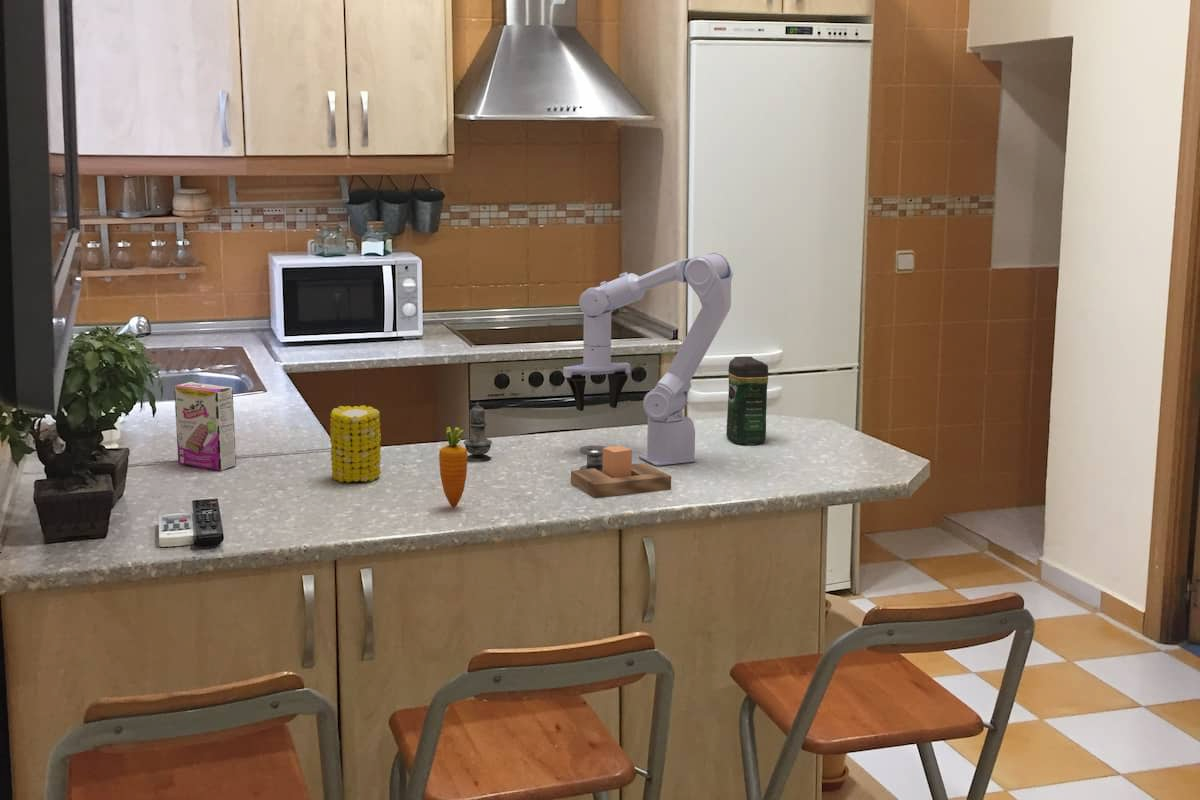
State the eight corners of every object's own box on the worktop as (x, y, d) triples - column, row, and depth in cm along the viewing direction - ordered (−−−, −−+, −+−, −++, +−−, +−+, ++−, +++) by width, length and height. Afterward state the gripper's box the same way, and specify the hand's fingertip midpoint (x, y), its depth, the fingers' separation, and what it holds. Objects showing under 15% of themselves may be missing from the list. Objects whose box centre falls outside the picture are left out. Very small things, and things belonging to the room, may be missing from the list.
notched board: (645, 475, 260) (645, 462, 259) (671, 488, 250) (671, 476, 249) (570, 483, 253) (570, 470, 252) (594, 497, 243) (594, 484, 243)
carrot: (440, 503, 238) (439, 423, 235) (467, 503, 239) (467, 423, 236) (439, 511, 233) (438, 429, 230) (467, 511, 234) (466, 429, 231)
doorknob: (601, 466, 266) (602, 444, 265) (614, 473, 261) (614, 450, 260) (574, 469, 263) (574, 446, 263) (587, 476, 258) (587, 453, 257)
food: (377, 478, 261) (377, 494, 251) (318, 467, 258) (316, 483, 249) (393, 406, 258) (394, 419, 248) (333, 394, 255) (332, 407, 245)
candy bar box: (176, 465, 263) (172, 385, 260) (194, 460, 267) (189, 381, 264) (220, 472, 258) (216, 390, 255) (237, 466, 263) (233, 386, 259)
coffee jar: (770, 444, 286) (773, 361, 282) (735, 446, 284) (738, 362, 280) (755, 435, 295) (758, 353, 291) (722, 436, 293) (724, 354, 290)
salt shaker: (487, 463, 268) (487, 405, 265) (460, 461, 269) (459, 404, 266) (495, 456, 273) (495, 399, 271) (468, 454, 274) (468, 398, 272)
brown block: (619, 480, 256) (620, 445, 254) (631, 485, 252) (631, 449, 251) (602, 483, 254) (602, 447, 252) (613, 487, 250) (614, 452, 249)
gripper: (620, 339, 280) (619, 402, 282) (557, 343, 274) (557, 407, 276) (634, 344, 273) (633, 408, 276) (571, 348, 267) (570, 414, 270)
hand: (596, 408), depth 276 cm, fingers open, 7 cm apart
